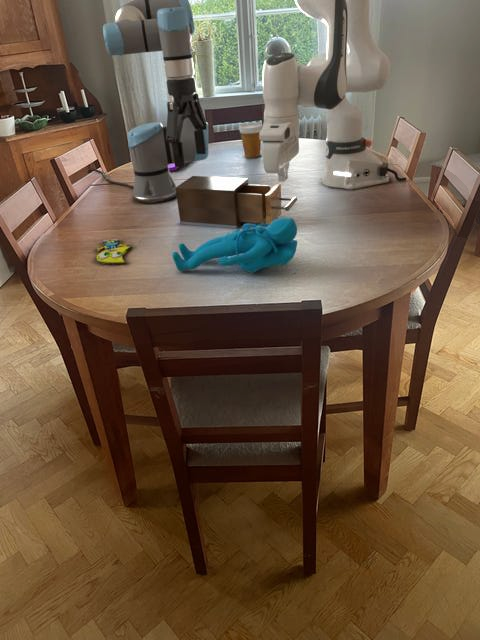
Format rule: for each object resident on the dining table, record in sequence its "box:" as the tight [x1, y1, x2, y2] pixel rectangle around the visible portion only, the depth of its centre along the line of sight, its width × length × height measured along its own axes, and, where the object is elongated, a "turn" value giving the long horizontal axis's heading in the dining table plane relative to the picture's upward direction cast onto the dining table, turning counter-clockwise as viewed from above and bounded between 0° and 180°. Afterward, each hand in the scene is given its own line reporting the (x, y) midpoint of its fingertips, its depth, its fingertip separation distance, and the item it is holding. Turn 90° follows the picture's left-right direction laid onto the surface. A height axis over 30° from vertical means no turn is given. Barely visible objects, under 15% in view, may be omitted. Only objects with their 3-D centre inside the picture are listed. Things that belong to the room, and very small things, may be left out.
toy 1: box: [95, 238, 133, 265], centre depth 129 cm, size 10×1×15 cm
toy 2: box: [171, 217, 298, 274], centre depth 113 cm, size 17×11×30 cm
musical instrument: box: [168, 162, 188, 172], centre depth 200 cm, size 24×2×20 cm
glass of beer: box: [239, 123, 263, 159], centre depth 199 cm, size 10×10×12 cm
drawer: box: [235, 183, 298, 225], centre depth 137 cm, size 22×10×9 cm, turn 68°
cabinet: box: [175, 175, 249, 229], centre depth 142 cm, size 18×11×11 cm, turn 68°
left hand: (191, 160), depth 137 cm, fingers open, 13 cm apart
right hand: (283, 180), depth 130 cm, fingers closed
